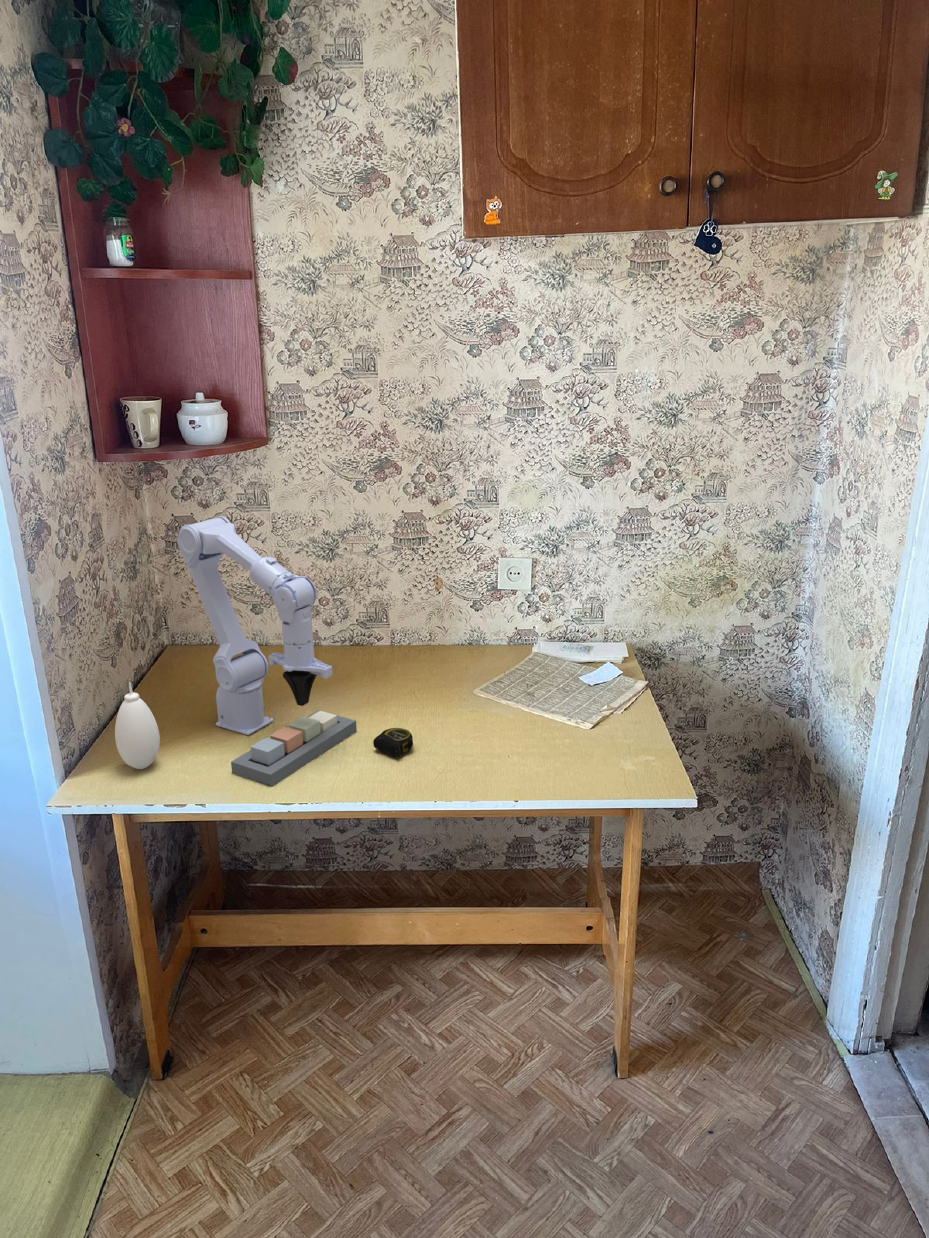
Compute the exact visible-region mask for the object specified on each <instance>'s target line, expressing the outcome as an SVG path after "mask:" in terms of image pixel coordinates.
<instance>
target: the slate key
mask: <svg viewBox="0 0 929 1238" xmlns="http://www.w3.org/2000/svg"><path fill="white" fill-rule="evenodd" d="M250 750H251V756H252V760H254V761H257V762H260V763H263V764H266V765H271V764H272V763H274V762H276V761H277V760H279V759H280V758H282V757H284V756H285V752H284V743H283V742H280V741H277V740H273V739H270V737H265V738H263V739H261V740H259V741H258V742H256V743H255V744H252V745H251V746H250Z"/></svg>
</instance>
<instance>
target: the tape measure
mask: <svg viewBox="0 0 929 1238" xmlns="http://www.w3.org/2000/svg"><path fill="white" fill-rule="evenodd" d="M413 739H414V738H413V734H412V732H410V731H409V730H408V729H406V728H403V727H392V728H391V727H390V728H388V729H385V730H383V731H382V732H381V733H380V734H378V735H377V736H376V737H375V738H374V739H373V741H372V742H373V743H372V745H373V747H374V748H375V749H376V750H378V751H380V752H383V753H386V754H389V755H391V756H393V757H395V758H401V757H402V756H403V755H405V754H407V753H409V752H410V751H411V750H412V748H413V746H414V740H413Z"/></svg>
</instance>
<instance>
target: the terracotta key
mask: <svg viewBox="0 0 929 1238" xmlns="http://www.w3.org/2000/svg"><path fill="white" fill-rule="evenodd" d="M269 738H270V739H273V740H277V741H280V742H283V743H284V752H285V753H290V752H292V751H293V750H295V749H296V748H298V747H300V746H301V745H303V736H302V731H299V730H295V729H292V728H289V726H284V727H282V728H280V729H278V730H277V731H275V732H273V733H272V734H269Z"/></svg>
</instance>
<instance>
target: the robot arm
mask: <svg viewBox="0 0 929 1238" xmlns="http://www.w3.org/2000/svg"><path fill="white" fill-rule="evenodd" d="M176 543H177V545H178V548H179V550H180V553H181V556H182V558H183V561H184V562H185V565H186V567H187V568H188V570H189V573H190V575H191V577H192V580H193V582H194V583H193V584H194V585H195V587H196V590H197V593H198V595H199V598H200V601H201V603H202V605H203V607H204V610H205V613H206V615H207V617H208V620H209V623H210V624H211V625H210V626H211V629H212V630H213V633H214V635H215V638H216V640H217V643H218V645H219V648H218V650H217V651H216V653H215V654H214V656H213V658H212V662H213V665H214V667H215V677H216V681H217V683H218V684H219V686H218V688H217V690H216V695H215V702H216V710H217V721H216V723H215V726H217V727H220V728H223V729H226V730H229V731H233V732H236V733H239V734H243V735H247V736H249V735H252V734H254V733H255V732H258V730H260V729H262V728H264V727H266V726H268V725H269V724H271V723H273V722H274V718H272V717H269V716H266V715H265V709H264V699H263V698H264V694H263V686H262V684H263V683H265V679H264V678H265V677H266V676H267V675H268V673H269V668H270V667H269V665H270V666H275V665H277V666H282V669H283V671H284V672H282V678H283V680H285V681H286V683H287V685H288V686H289V687H290V690H291V692H292V694H293V697H294V701H295V703H296V705H298V706H301V707H303V706H305V705H307V704H308V703H309V701H310V696H311V692H312V689H313V688H312V687H313V684H314V682H315V680H316V678H317V676H320V677H322V678H323V679H325V680H327V679H328V678H330V677H332V676H334V675H333V666H332V665H329V664H326V663H324V662H323V661H321V660H319V659H317V658H315V650H314V649H315V648H314V633H313V631H314V630H313V620H312V605H313V604H314V603H315V602H316V600H317V589H316V586H315V584H314V583H313V581H311V579H310V578H309V577H307V576H305V575H297V574H293V573H292V572H291V571H289V570H287V569H286V568H285V567H284V566H282V565H281V564H280V563H278V561H277V559H275V558H274V557H270V556H263V557H262V556H261V555H260V554H258V552H256V551H255V550H254V549H253V548H252V547H251V546H250V545H249V544H248V543H247V542H246V541H245V540H244V539H242V538H241V537H240V536H239V535H238V534H237V529H236V526H235V525H234V523H232V522H230V521H229V519H228V518H227V517H225V516H221V515H219V516H216V517H215V518H210V519H207V520H203V521H200V522H196V523H195V522H194V523H191V524H185V525H183V526H181V528H180V529H179V532H178V536H177V539H176ZM224 555H225V556H227V557H228V558H230V559H231V560H232V561H234V562H235V563H238V564H239V565H240V566H242V567H243V568H245V569H247V570H248V571H249V572H250V573H249V575H250V579H251V580H252V582H254V583H255V584H256V585H257V586H259V587H260V588H261V589H263V591H265V592H266V593H267V594H268V595H270V596H271V597H272V601H273V604H274V606H275V608H276V609H277V612H278V613H277V615H278V618H279V620H280V621H281V630H282V642H283V643H282V644H283V653H280V652H276V651H274V652H273V653H270V654H269V655H268V659H267V658H266V656H265V655H264V653H263V652H262V651H261V649H260V647H259V644H258V643H257V641H253V640H251V639H249V638H247V637H245V635H244V632H243V629H242V628H241V625H240V622H239V620H238V617H237V614H236V612H235V610H234V607H233V604H232V602H231V599H230V597H229V594H228V592H227V589H226V586H225V584H224V581H223V579H222V576H221V574H220V571H219V568H218V566H219V563H220V560H221V559H222V558H223V556H224ZM239 654H240V655H239ZM236 655H238V656H236Z"/></svg>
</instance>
